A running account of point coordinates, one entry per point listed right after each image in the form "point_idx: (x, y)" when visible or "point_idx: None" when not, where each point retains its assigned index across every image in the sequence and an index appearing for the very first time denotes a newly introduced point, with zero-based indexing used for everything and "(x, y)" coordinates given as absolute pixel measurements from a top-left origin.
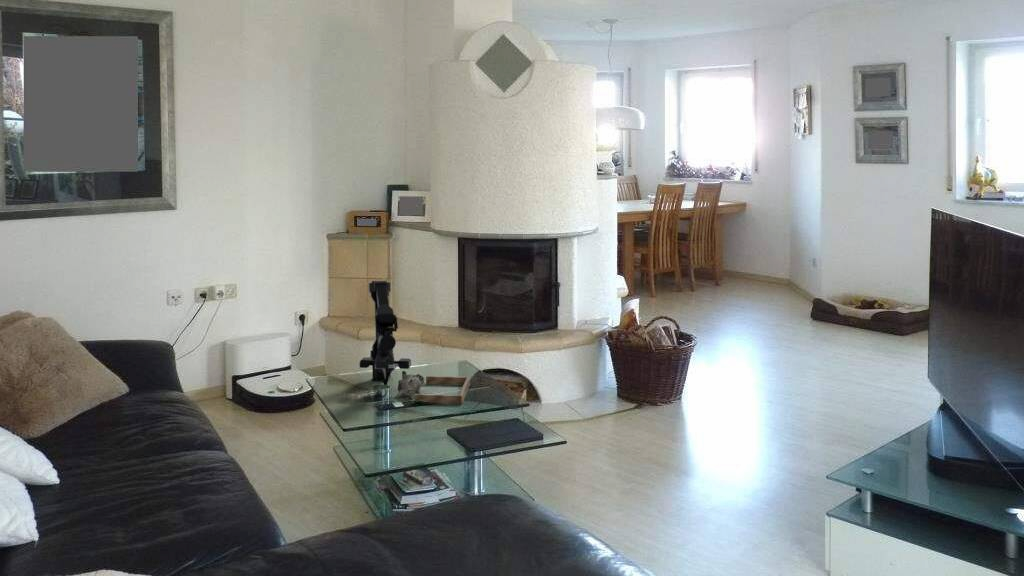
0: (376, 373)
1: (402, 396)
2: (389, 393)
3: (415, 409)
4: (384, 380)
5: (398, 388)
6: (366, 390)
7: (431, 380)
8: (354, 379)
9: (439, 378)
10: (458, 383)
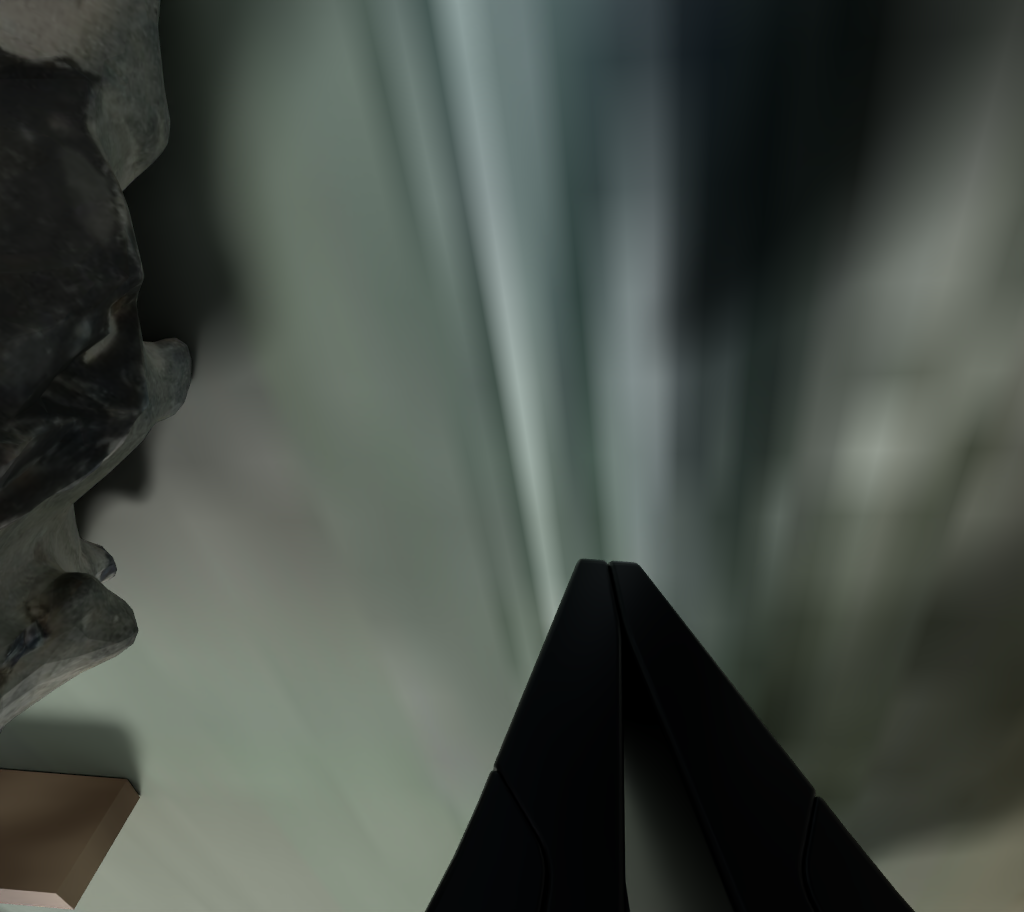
0: None
1: None
2: (495, 370)
3: None
4: (659, 673)
5: (73, 206)
6: (975, 562)
7: (24, 827)
8: (979, 908)
9: None
10: None
